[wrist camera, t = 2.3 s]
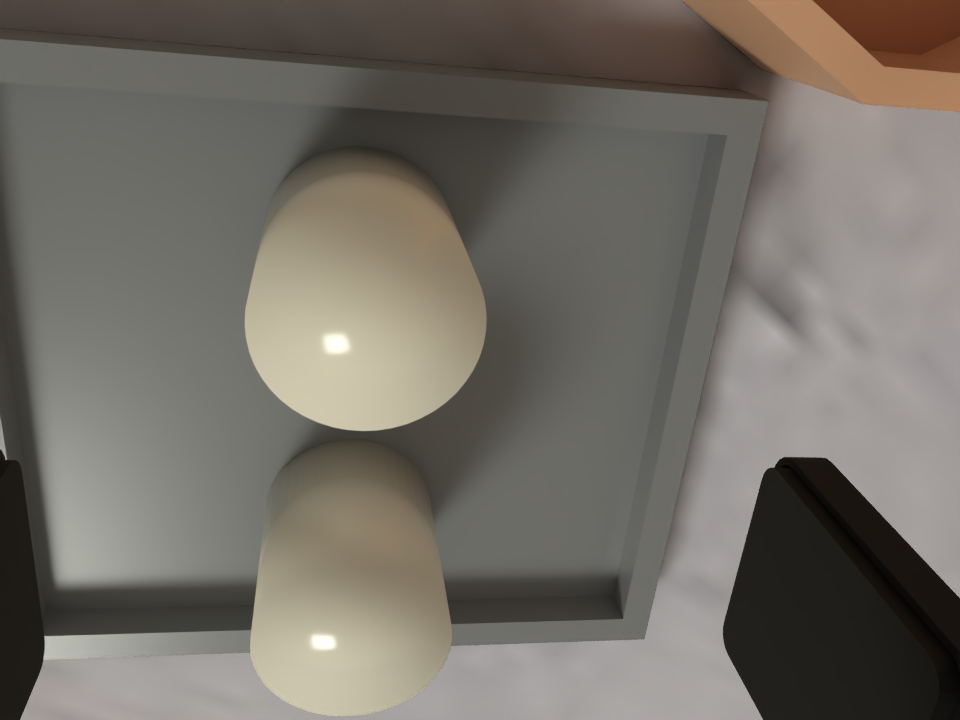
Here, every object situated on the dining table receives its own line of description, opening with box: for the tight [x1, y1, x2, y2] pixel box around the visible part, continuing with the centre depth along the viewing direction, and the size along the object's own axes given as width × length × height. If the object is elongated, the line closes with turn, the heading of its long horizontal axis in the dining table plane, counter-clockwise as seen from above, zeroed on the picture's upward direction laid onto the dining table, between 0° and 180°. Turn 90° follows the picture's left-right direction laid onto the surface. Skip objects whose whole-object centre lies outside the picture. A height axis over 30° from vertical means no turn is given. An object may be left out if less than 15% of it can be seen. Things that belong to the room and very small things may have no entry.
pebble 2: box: [250, 440, 452, 716], centre depth 22 cm, size 4×4×5 cm
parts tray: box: [0, 29, 769, 660], centre depth 22 cm, size 16×18×2 cm
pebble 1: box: [245, 146, 487, 431], centre depth 18 cm, size 4×4×5 cm
